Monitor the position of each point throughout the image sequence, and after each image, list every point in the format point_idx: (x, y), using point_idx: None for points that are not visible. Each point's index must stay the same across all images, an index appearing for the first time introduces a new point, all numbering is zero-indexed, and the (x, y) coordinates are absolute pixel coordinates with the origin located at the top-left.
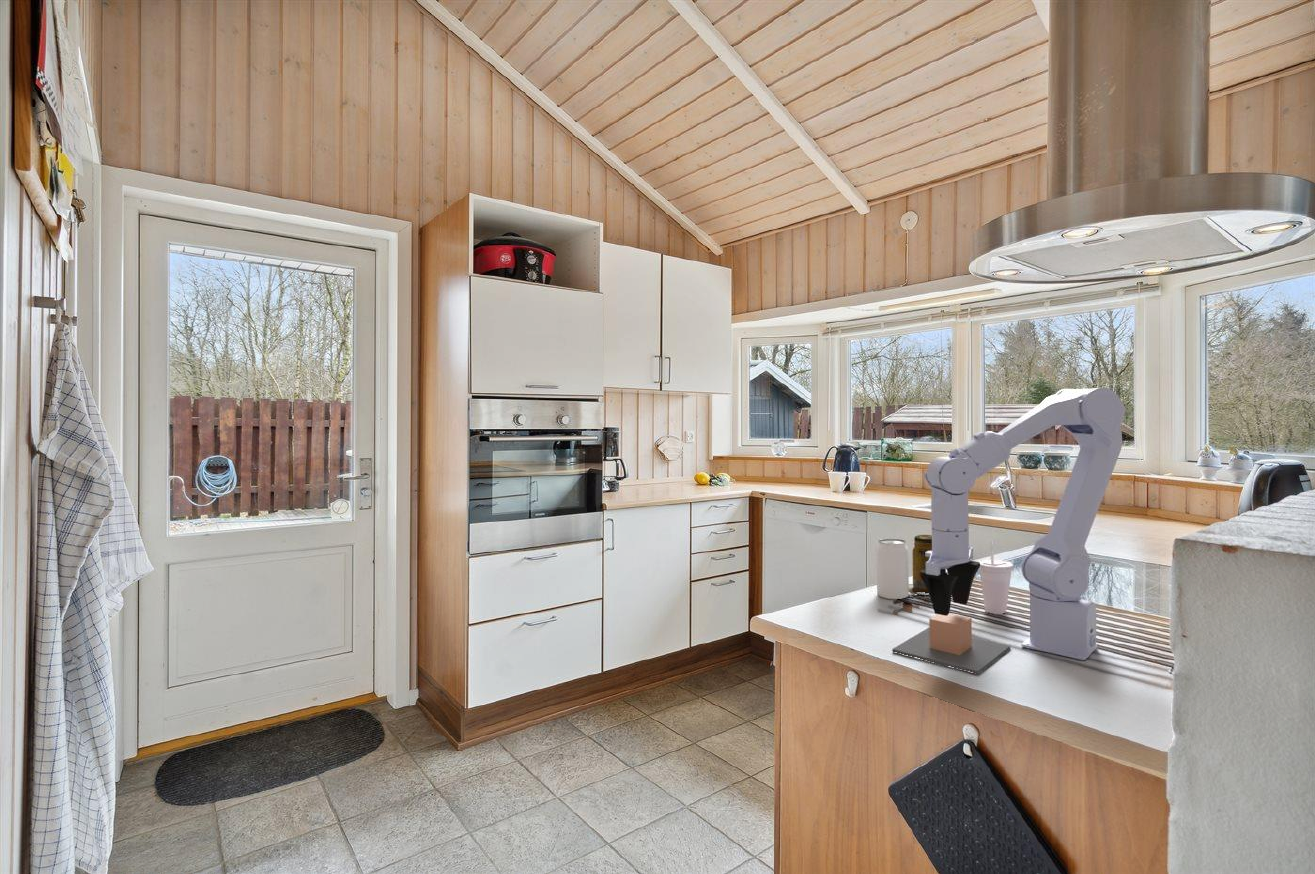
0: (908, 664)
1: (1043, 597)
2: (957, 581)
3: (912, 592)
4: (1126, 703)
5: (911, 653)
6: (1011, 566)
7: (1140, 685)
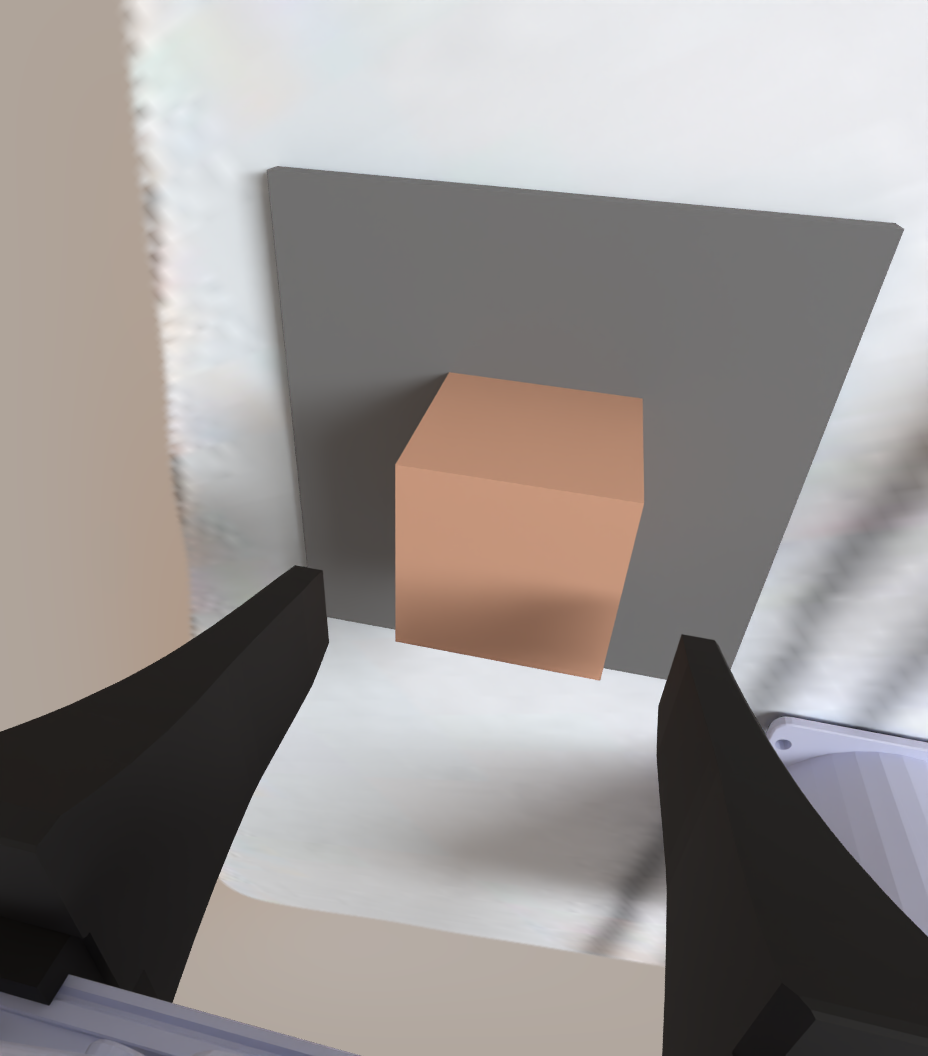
0: (194, 325)
1: None
2: (699, 839)
3: None
4: (410, 889)
5: (288, 309)
6: None
7: (566, 928)
